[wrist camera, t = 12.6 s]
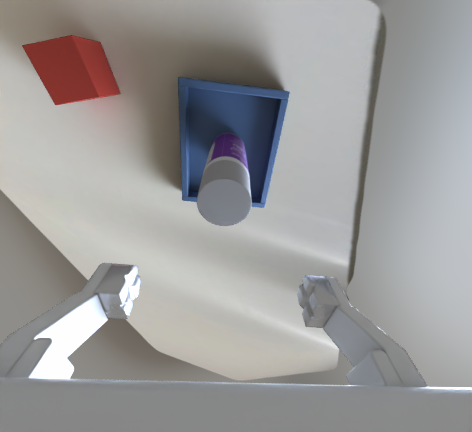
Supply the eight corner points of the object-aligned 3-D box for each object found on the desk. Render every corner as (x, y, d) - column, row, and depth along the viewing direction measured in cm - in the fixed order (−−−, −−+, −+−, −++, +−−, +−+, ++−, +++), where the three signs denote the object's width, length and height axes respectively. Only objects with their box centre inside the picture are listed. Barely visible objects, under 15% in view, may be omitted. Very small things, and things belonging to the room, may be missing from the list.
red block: (58, 50, 24) (21, 45, 19) (100, 42, 23) (71, 34, 19) (83, 100, 26) (55, 105, 22) (120, 93, 26) (99, 97, 22)
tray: (182, 77, 25) (177, 77, 23) (285, 90, 26) (289, 91, 24) (185, 192, 34) (182, 200, 32) (262, 199, 35) (264, 208, 32)
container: (249, 137, 29) (261, 185, 16) (239, 169, 31) (243, 232, 19) (215, 127, 28) (201, 169, 15) (208, 161, 30) (190, 220, 18)
